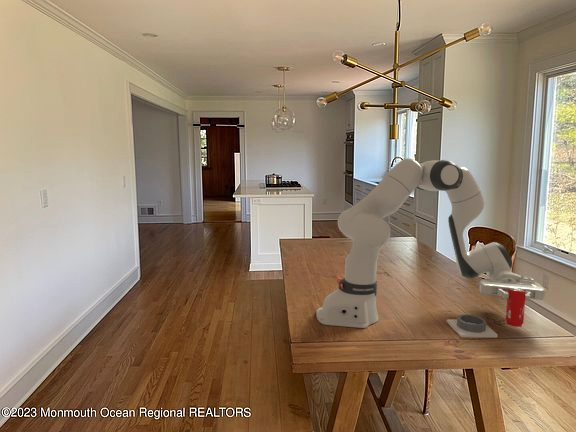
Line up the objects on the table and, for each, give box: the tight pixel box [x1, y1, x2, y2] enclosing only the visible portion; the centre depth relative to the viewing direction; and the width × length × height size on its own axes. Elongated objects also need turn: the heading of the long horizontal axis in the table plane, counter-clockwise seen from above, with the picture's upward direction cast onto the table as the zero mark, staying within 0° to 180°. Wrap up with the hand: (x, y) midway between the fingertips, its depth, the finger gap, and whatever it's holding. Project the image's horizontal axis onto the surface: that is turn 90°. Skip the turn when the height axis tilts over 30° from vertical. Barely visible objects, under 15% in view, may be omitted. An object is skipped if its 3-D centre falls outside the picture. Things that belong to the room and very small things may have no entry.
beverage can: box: [505, 288, 526, 328], centre depth 140 cm, size 5×5×12 cm
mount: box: [446, 314, 498, 338], centre depth 144 cm, size 12×12×4 cm
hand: (517, 297), depth 139 cm, fingers closed on beverage can, 5 cm apart
